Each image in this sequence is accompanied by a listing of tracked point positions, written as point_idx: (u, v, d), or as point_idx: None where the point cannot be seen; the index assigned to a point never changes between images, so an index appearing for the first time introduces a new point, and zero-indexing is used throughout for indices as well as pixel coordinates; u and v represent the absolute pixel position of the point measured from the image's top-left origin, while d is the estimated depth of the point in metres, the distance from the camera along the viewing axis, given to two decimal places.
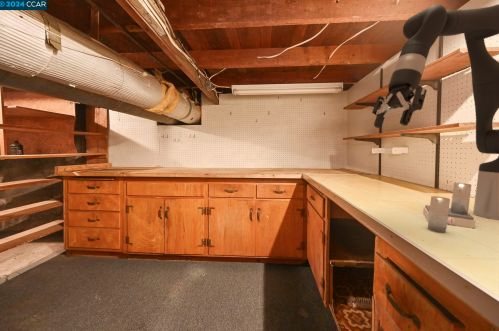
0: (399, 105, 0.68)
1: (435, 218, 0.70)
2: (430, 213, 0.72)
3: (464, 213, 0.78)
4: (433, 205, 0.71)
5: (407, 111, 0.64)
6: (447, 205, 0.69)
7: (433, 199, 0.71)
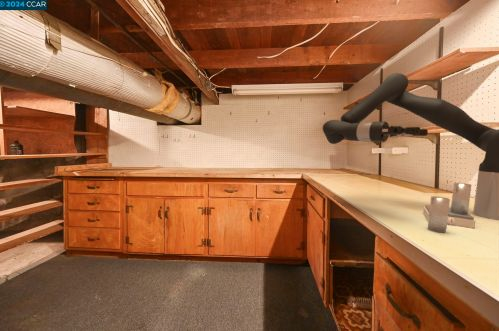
0: None
1: (435, 218, 0.70)
2: (430, 213, 0.72)
3: (464, 213, 0.78)
4: (433, 205, 0.71)
5: (406, 132, 0.77)
6: (447, 205, 0.69)
7: (433, 199, 0.71)
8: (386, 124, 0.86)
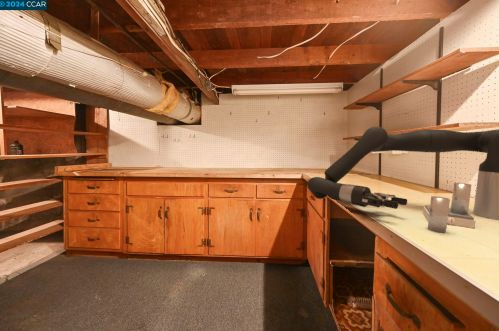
0: None
1: (435, 218, 0.70)
2: (430, 213, 0.72)
3: (464, 213, 0.78)
4: (433, 205, 0.71)
5: None
6: (447, 205, 0.69)
7: (433, 199, 0.71)
8: (367, 190, 0.87)
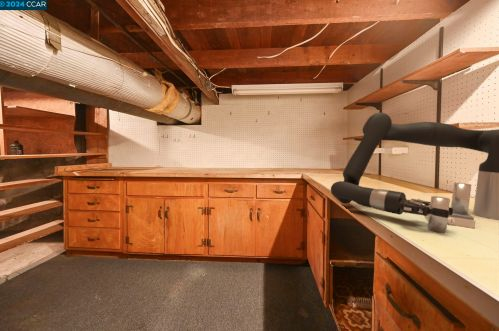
0: (420, 208, 0.74)
1: (435, 218, 0.70)
2: None
3: (464, 213, 0.78)
4: (433, 205, 0.71)
5: None
6: (447, 205, 0.69)
7: (433, 199, 0.71)
8: (403, 196, 0.78)
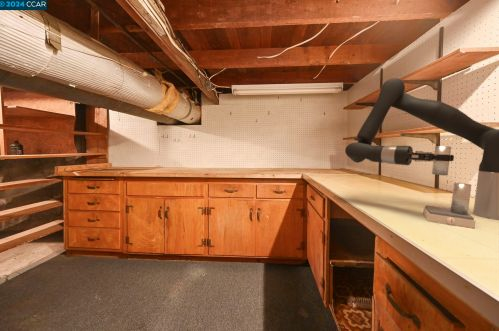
0: None
1: (438, 163, 0.82)
2: None
3: (464, 213, 0.78)
4: (437, 152, 0.83)
5: (436, 159, 0.82)
6: (449, 151, 0.81)
7: (437, 147, 0.83)
8: (410, 148, 0.90)
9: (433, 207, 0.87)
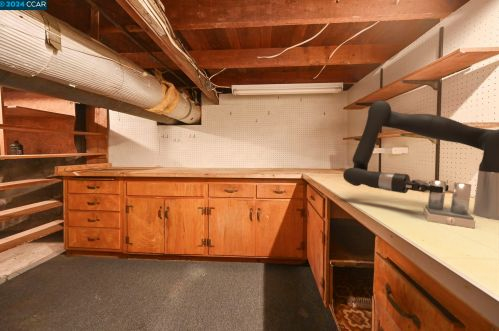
0: None
1: (434, 198, 0.84)
2: (430, 194, 0.85)
3: (464, 213, 0.78)
4: None
5: (429, 190, 0.83)
6: (444, 187, 0.82)
7: (432, 182, 0.84)
8: (407, 177, 0.92)
9: None
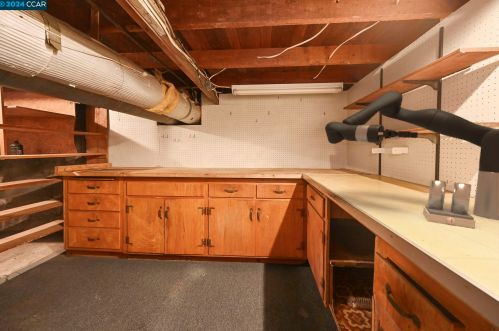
0: None
1: (434, 198, 0.84)
2: (430, 194, 0.85)
3: (464, 213, 0.78)
4: (432, 187, 0.84)
5: (399, 136, 0.88)
6: (444, 187, 0.82)
7: (432, 182, 0.84)
8: (382, 127, 0.97)
9: None
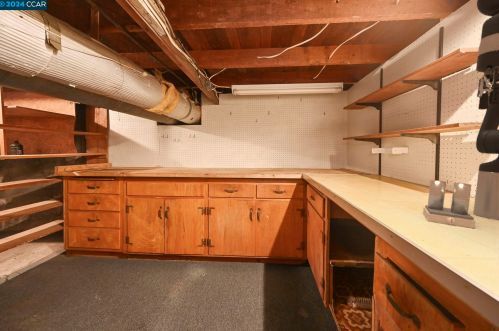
0: None
1: (433, 198, 0.84)
2: (429, 194, 0.85)
3: (464, 213, 0.78)
4: (432, 187, 0.84)
5: (492, 92, 0.69)
6: (444, 187, 0.83)
7: (432, 182, 0.84)
8: None
9: None
